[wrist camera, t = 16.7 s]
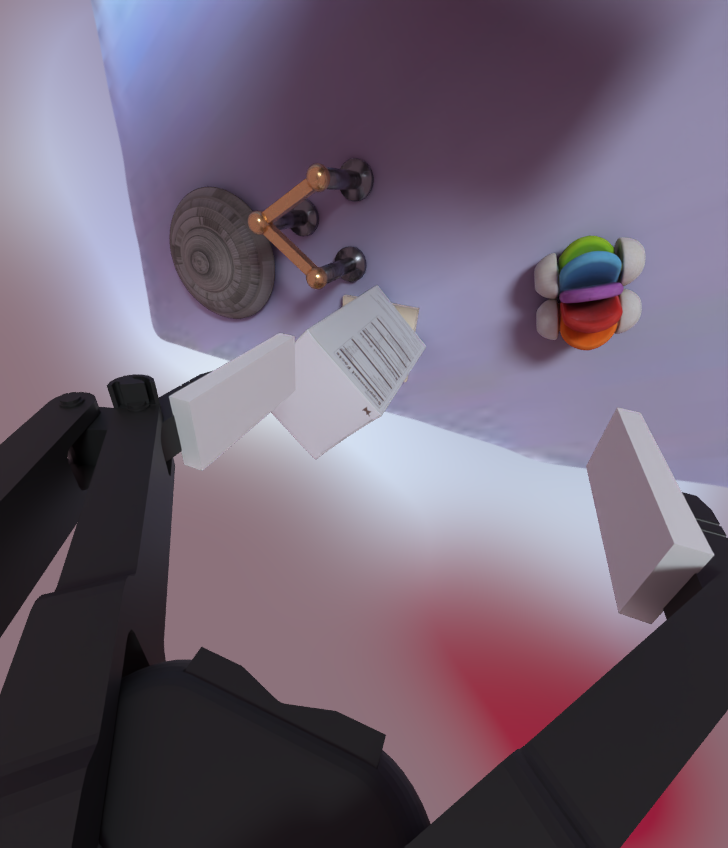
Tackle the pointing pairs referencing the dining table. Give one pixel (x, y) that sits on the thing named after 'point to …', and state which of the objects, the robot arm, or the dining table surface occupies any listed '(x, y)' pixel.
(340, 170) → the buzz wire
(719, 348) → the dining table surface
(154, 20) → the dining table surface
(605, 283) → the rainbow disc toy
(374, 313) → the supplement box
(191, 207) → the flying saucer
